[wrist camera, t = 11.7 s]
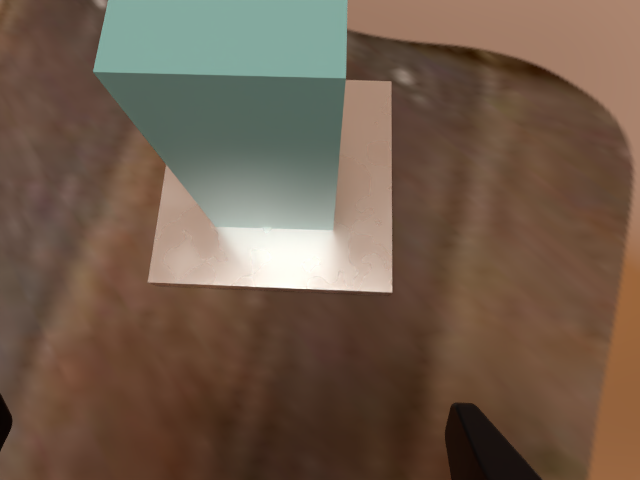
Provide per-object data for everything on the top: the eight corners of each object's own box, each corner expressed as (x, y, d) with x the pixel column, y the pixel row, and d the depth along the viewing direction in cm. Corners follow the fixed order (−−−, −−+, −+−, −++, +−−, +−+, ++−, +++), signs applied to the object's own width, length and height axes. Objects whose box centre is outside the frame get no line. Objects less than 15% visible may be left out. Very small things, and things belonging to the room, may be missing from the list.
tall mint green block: (333, 230, 21) (345, 78, 10) (215, 226, 22) (92, 71, 10) (335, 125, 23) (349, -109, 12) (226, 122, 23) (132, -113, 12)
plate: (389, 295, 22) (401, 283, 18) (155, 285, 22) (125, 271, 18) (388, 92, 25) (399, 50, 21) (185, 85, 25) (164, 42, 22)
